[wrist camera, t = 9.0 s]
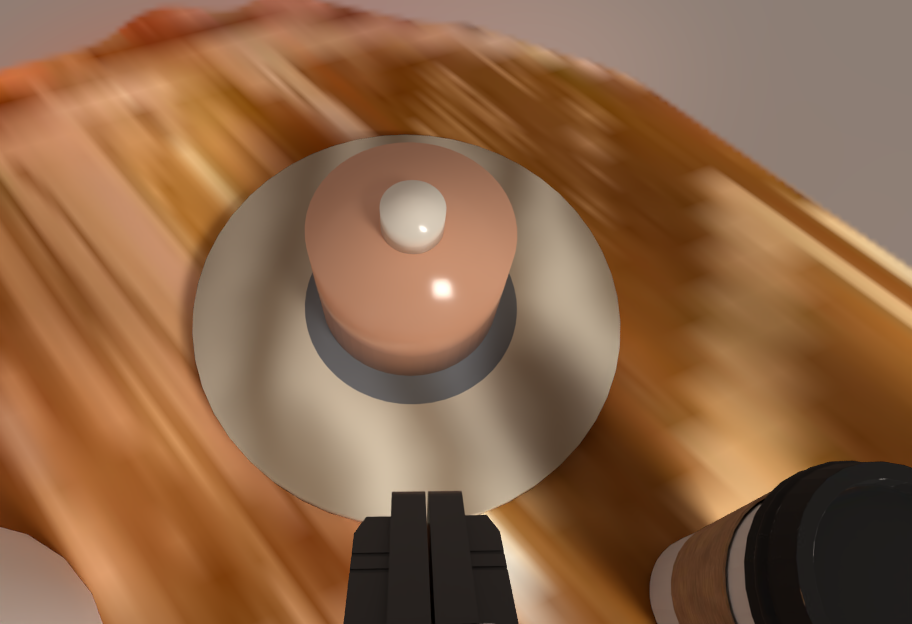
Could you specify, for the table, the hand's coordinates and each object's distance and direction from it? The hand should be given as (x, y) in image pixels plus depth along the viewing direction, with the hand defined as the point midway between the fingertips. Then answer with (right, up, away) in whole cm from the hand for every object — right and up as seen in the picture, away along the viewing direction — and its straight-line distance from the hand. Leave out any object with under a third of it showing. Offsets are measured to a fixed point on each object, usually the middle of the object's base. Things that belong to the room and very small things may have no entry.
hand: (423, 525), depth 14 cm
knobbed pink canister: (-2, +6, +23) cm, 24 cm away
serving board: (-2, +4, +24) cm, 24 cm away
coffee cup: (+13, -10, +19) cm, 25 cm away
